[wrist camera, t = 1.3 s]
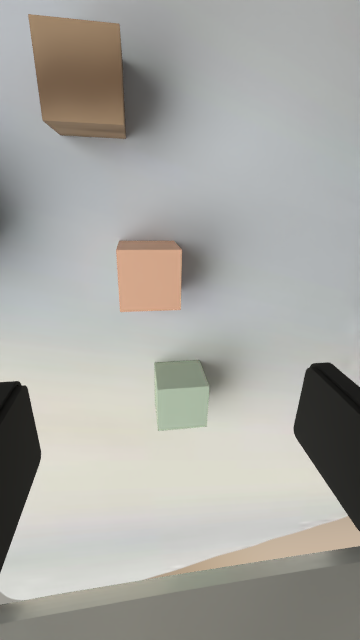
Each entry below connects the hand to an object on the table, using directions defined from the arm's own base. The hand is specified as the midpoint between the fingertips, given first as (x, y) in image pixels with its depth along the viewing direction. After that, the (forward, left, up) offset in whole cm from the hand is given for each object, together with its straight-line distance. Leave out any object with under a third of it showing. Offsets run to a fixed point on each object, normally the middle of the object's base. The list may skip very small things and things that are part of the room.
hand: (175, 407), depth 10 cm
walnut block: (-13, -4, -20) cm, 24 cm away
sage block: (+13, +3, -20) cm, 24 cm away
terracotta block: (0, 0, -20) cm, 20 cm away
